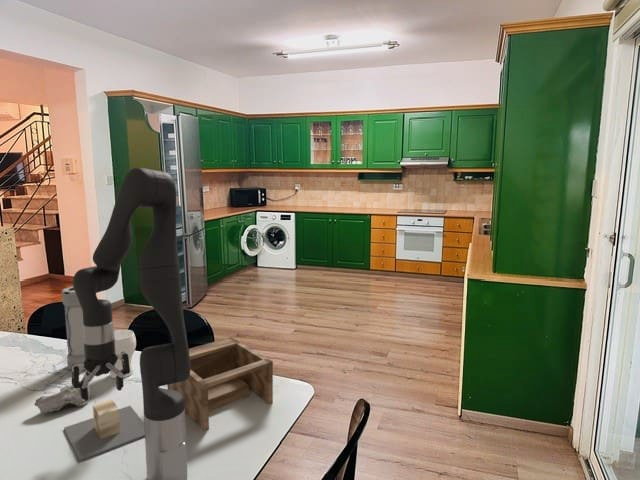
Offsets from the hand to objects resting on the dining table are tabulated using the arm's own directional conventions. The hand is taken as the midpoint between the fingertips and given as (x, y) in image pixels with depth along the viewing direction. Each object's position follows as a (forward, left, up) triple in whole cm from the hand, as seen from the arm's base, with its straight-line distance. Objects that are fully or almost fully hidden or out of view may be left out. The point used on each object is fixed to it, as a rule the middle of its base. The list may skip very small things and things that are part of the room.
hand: (103, 394), depth 118 cm
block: (0, -1, -11) cm, 11 cm away
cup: (+34, -15, -12) cm, 39 cm away
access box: (-4, -34, -12) cm, 36 cm away
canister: (+50, -6, -12) cm, 52 cm away
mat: (0, -1, -12) cm, 12 cm away
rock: (+22, +5, -12) cm, 26 cm away
